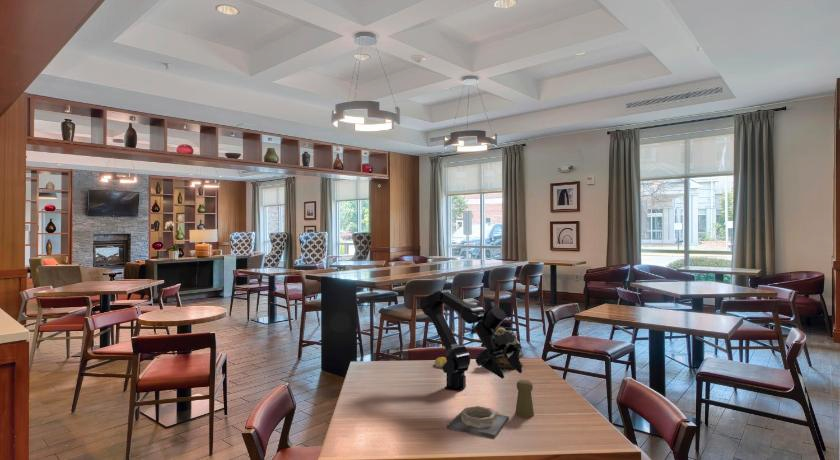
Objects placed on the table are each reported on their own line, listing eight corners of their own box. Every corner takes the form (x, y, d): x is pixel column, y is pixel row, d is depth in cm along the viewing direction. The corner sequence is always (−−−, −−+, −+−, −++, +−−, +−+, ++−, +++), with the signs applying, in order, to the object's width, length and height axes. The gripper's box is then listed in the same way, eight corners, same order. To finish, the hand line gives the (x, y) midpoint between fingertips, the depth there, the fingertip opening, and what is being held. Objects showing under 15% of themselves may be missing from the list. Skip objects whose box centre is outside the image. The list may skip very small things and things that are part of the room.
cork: (534, 418, 152) (534, 384, 152) (515, 417, 153) (515, 383, 153) (533, 411, 158) (533, 378, 158) (515, 410, 159) (515, 377, 159)
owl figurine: (484, 370, 204) (484, 330, 204) (479, 362, 215) (479, 325, 215) (526, 369, 205) (525, 330, 205) (518, 362, 216) (518, 324, 216)
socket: (447, 428, 144) (447, 417, 144) (464, 411, 158) (464, 400, 158) (495, 438, 138) (495, 426, 138) (508, 419, 151) (508, 408, 151)
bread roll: (440, 362, 216) (440, 353, 216) (457, 365, 211) (457, 356, 211) (430, 366, 209) (430, 357, 209) (448, 370, 204) (448, 361, 204)
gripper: (481, 326, 158) (507, 367, 149) (517, 320, 169) (543, 357, 161) (465, 345, 164) (488, 385, 155) (501, 338, 175) (524, 374, 167)
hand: (512, 375), depth 159 cm, fingers open, 9 cm apart
